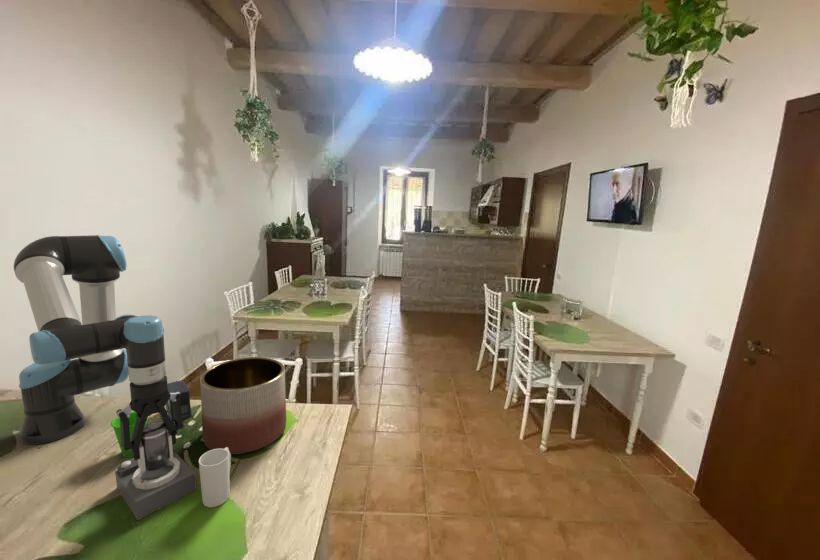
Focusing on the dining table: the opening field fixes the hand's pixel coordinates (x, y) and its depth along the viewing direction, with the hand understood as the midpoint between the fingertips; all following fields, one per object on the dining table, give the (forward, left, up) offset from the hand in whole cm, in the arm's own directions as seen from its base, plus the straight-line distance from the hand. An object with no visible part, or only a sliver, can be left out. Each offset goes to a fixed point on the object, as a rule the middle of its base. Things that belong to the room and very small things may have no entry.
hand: (156, 462), depth 94 cm
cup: (-24, +1, -9) cm, 25 cm away
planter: (-8, +28, -9) cm, 30 cm away
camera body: (-2, 0, -9) cm, 9 cm away
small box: (-37, +18, -9) cm, 42 cm away
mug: (+12, +10, -9) cm, 18 cm away
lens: (0, 0, 0) cm, 0 cm away
